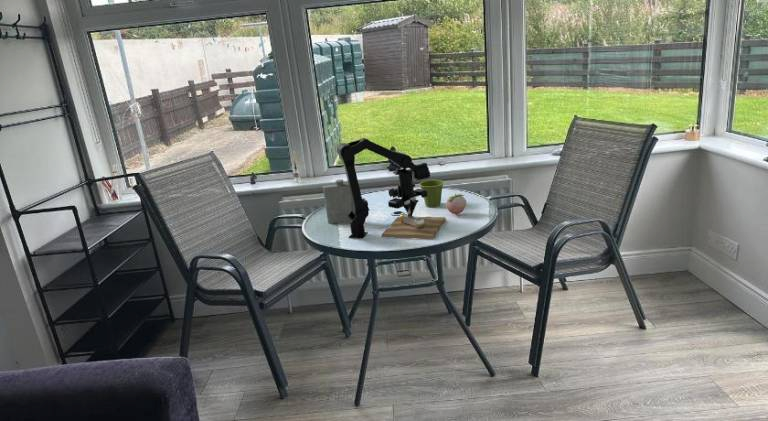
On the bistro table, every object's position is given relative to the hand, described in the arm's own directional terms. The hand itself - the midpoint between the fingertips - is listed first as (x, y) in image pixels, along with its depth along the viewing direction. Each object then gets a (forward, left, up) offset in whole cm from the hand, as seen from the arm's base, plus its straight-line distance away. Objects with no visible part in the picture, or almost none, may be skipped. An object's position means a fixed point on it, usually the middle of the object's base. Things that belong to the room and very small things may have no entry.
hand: (410, 216), depth 221 cm
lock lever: (-4, -2, -2) cm, 4 cm away
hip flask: (+3, +33, -4) cm, 33 cm away
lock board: (-4, -3, -4) cm, 7 cm away
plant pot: (+28, -3, -4) cm, 28 cm away
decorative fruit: (+15, -17, -4) cm, 23 cm away
